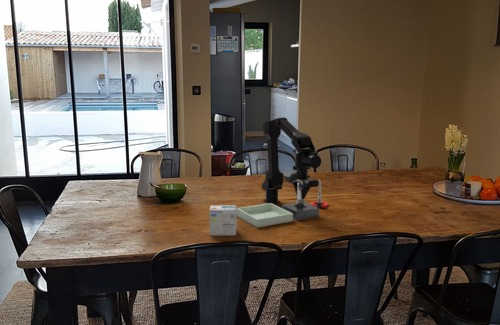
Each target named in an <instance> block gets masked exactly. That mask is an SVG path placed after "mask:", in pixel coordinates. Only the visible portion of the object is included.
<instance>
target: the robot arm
mask: <svg viewBox="0 0 500 325" xmlns="http://www.w3.org/2000/svg"><path fill="white" fill-rule="evenodd" d="M262 130H263V135H264V137H265V138H266V141H267V162H268V164H267V166H268V170H267V172H266V173H265V178H264V181H263V182H262V184H261V190H263V191H265V199H262V201H263V202H265V203H266V204H268V203H272V204H276V203H281V200H279V190H282V188H283V184H284V182H288V183H289V184H291V185H292V186H293V188H294V191H295V196H297V183H298V182H303V183H302V185H299V187H300V188H301V198H302V199H304V200H305V198H306V196H307V194H308V192H309V190H310V189H311V188H316V187H319V182H320V180H318V179H315V178H310V177H311V176H310V175H309V170H311V168H312V169H318V168H319V167H320V166H321V164H322V158H321V156H320V155H318V151H316V148H315V146H314V143H313V140H312V138H311V137H310V135H308V134H307V133H304V132H301V131H299V130H298V129H297V128H296V126H294V125H293V124H292V123H291V122H289V120H288V119H287V117H277V118H274V119H272V120H265V122H264V123H263V125H262ZM281 132H283V133H284V134H285V135H286V136H287V137H288V138H289V139H290V140H291V145H292V146H293V147H294V150H292V153H293V154H295V155H294V157H295V159H294V165H293V166H292V169H290V170H288V171H287V172H284V173H283V172H281V170H280V167H279V166H280V164H279V144H278V143H279V141H278V139H279V138H280V136H281V134H282V133H281Z"/></svg>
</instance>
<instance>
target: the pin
mask: <svg viewBox="0 0 500 325" xmlns="http://www.w3.org/2000/svg"><path fill="white" fill-rule="evenodd" d="M302 183H303V182H298V183H297V195H296V202H297V208H304V202H305V198H304V199H302V198H301V188H300V187H299V185H302Z"/></svg>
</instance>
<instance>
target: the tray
mask: <svg viewBox="0 0 500 325" xmlns="http://www.w3.org/2000/svg"><path fill="white" fill-rule="evenodd" d="M236 216H237V218H239V219H241V220H243V221H244V222H246V223H248V224H249V225H251V226H253V227H254V228H256V229H258V228H262V227H269V226H274V225H279V224H285V223H286V224H287V223H291V222H294V219H293V213H291V212H289V211H286V210H284V209H282V207H281V206H278V205H276V204H275V203H262V204H257V205H256V204H255V205H249V206H244V207H243V206H241V207H236Z"/></svg>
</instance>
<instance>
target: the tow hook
mask: <svg viewBox="0 0 500 325" xmlns="http://www.w3.org/2000/svg"><path fill="white" fill-rule="evenodd" d="M310 204H311V205H313V206H315V207H318V208H319V209H327V207H328V206H329V203H328V202H325V201H322V181H321V180H319V186H318V196H317V201H312V202H310Z"/></svg>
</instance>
